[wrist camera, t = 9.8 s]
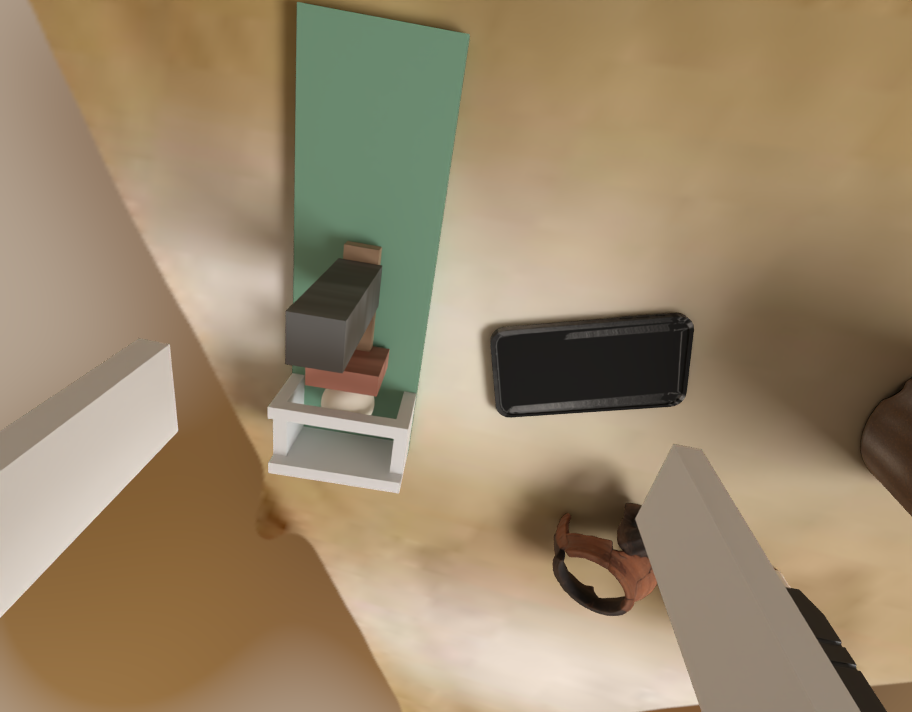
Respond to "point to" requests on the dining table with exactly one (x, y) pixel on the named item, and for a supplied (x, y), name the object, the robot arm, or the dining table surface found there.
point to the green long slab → (368, 220)
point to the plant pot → (891, 445)
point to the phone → (592, 365)
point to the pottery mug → (606, 564)
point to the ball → (347, 401)
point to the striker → (340, 325)
